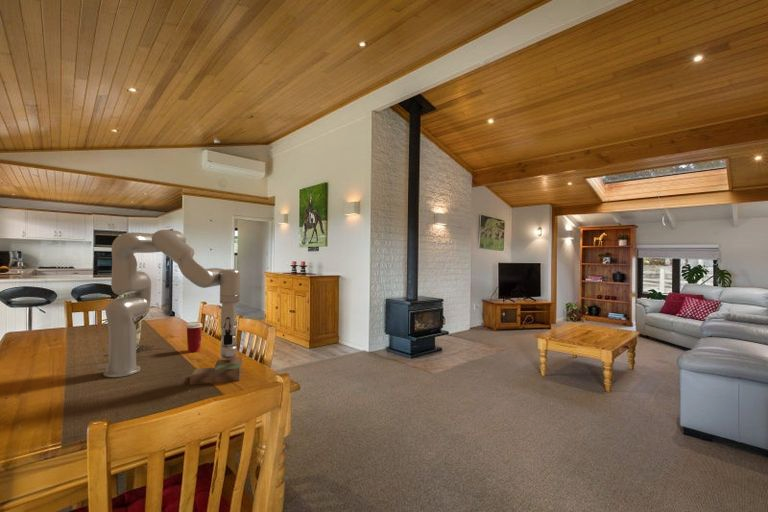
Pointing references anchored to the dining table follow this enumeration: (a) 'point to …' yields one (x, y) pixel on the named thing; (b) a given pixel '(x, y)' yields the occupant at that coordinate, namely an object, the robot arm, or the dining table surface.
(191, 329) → the paper cup
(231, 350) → the plastic bottle
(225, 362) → the step stand
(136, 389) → the dining table surface
